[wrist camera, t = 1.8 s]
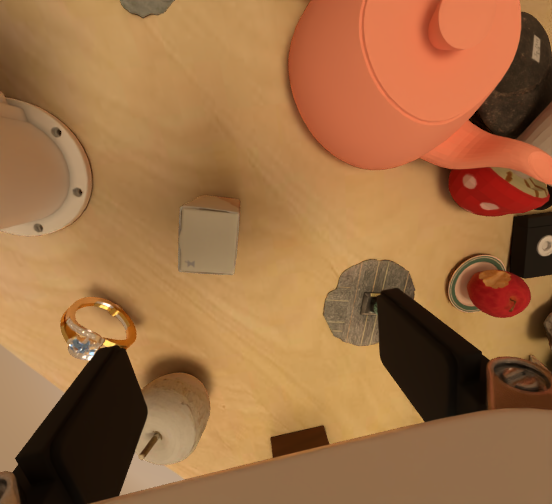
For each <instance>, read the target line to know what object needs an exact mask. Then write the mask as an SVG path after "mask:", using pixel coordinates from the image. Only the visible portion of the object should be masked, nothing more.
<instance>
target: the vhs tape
mask: <svg viewBox="0 0 552 504" xmlns="http://www.w3.org/2000/svg"><path fill="white" fill-rule="evenodd" d="M510 273H513V274H515V275H517V276H519V277H522V278H525V279H526V278H532V277H539V276H546V275H552V212H548V213H540V214H532V215H524V216H517V217H514V224H513V238H512V251H511V265H510Z"/></svg>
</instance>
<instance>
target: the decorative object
mask: <svg viewBox="0 0 552 504" xmlns="http://www.w3.org/2000/svg"><path fill="white" fill-rule="evenodd" d="M141 392H142V394H143V397H144V400H145V402H146V405H147V409H148V415H147V419H146V422H145V425H144V428H143V431H142V433H141V436H140V439H139V442H138V444H137V447H136V450H135V453H136V454H137V455H138V456H139V459H141V460H143V459H144V460H145V461H147V462H150V463H153V464H157V465H170V464H174V463H177V462H180V461H182V460H184V459H186V458H187V457H188V456H189V455H190V454H191V453H192V452H193V451H194V450H195V448H196V446H197V444H198V442H199V440H200V438H201V436H202V433H203V432H204V429H205V427H206V424H207V421H208V419H209V415H210V401H209V396H208V393H207V391H206V389H205V387H204V385H203V384H202V383H201V382H200V381H199V380H198V379H197V378H196V377H194V376H192V375H190V374H186V373H172V374H167V375H164V376H161V377H159V378H157V379H155V380H153V381H152V382H150V383H149V384H148V385H147V386H146V387H144V388H143V389H142V390H141Z"/></svg>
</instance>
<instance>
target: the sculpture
mask: <svg viewBox="0 0 552 504" xmlns="http://www.w3.org/2000/svg"><path fill="white" fill-rule="evenodd" d="M392 288H399V289H400V290H401V291H403V292H404V293H405V294H407V295H408V296H409V297H411V298H412V299H414V291H415V288H414V285H413V282H412V279H411V277H410V274H409V271H406V270H405V269H404V268H403V267H401V266H399V265H398V264H396V263H394V262H392V261H389V260H384V261H377V260H368V261H363V262H362V263H360V264H359V265H355V266H353V267H351V268H349V269H347V270H346V271H345V272H343V273H342V274H341V277H340V279H339V283H338V286H337V289H336V290H334V291H332V292H330V293H329V294H328V296H327V298H326V301H325V307H324V317H325V319H326V321H327V323H328V325H329V327H330V329H331V331H332V333H333V335H334V336H335V337H337V338H339V339H341V340H342V341H344V342H346V343H350V344H351V343H352V344H353V345H357V346H366V345H367V346H368V345H373V344H376V343H379V331H378V313H377V296H378V295H380V294H381V291H382V290H387V289H392Z"/></svg>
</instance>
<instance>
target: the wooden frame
mask: <svg viewBox="0 0 552 504" xmlns="http://www.w3.org/2000/svg"><path fill="white" fill-rule="evenodd" d="M271 445H272V454H273V458H275V457H279V456H283V455H287V454H291V453H296V452H300V451H304V450H308V449H312V448H316V447H321V446H325V445H329V442H328V439H327V436H326V432H325V429H324V426H320V427H316V428H311V429H307V430H303V431H298V432H294V433H289V434H285V435H280V436H276V437H271Z"/></svg>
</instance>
